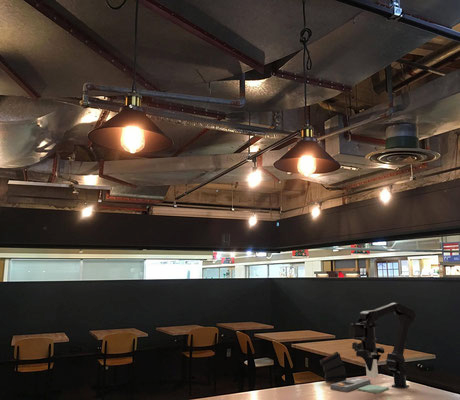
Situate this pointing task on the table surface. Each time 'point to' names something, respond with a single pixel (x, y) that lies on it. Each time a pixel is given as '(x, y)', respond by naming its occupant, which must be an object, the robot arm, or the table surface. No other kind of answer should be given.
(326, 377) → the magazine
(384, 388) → the green mat
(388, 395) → the table surface
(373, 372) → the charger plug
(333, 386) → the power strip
